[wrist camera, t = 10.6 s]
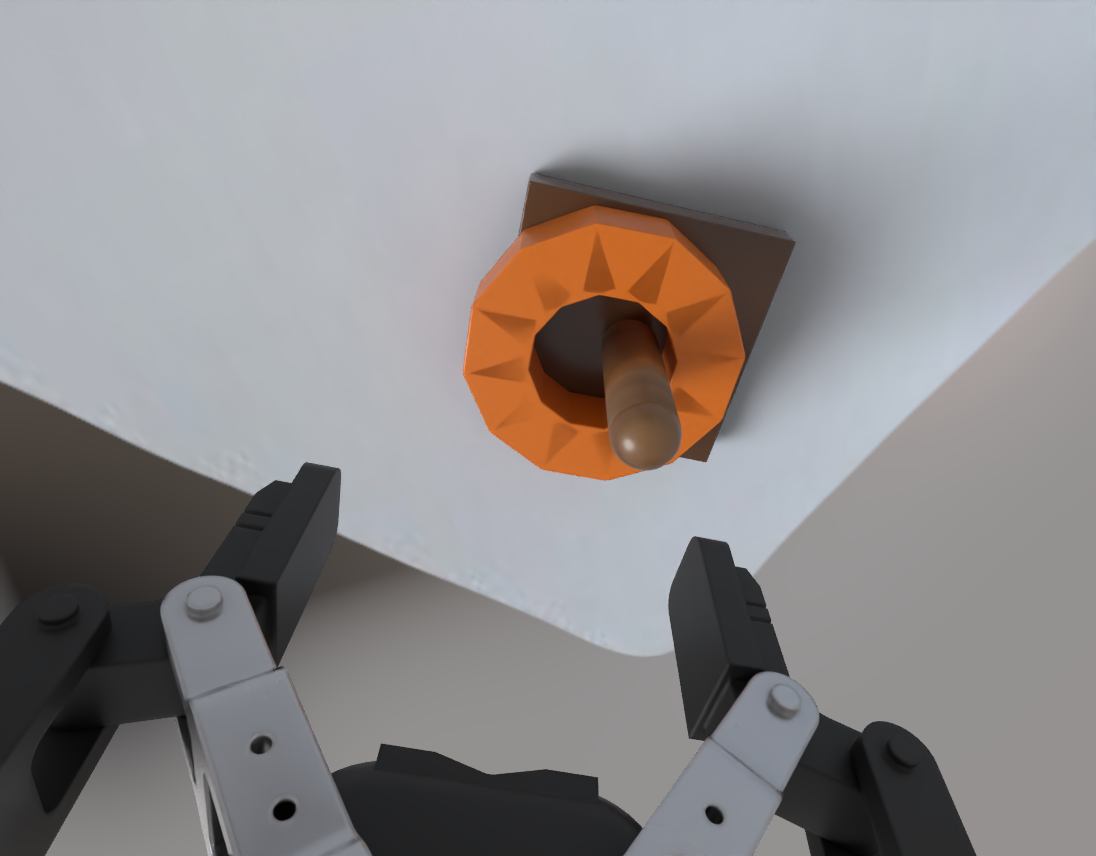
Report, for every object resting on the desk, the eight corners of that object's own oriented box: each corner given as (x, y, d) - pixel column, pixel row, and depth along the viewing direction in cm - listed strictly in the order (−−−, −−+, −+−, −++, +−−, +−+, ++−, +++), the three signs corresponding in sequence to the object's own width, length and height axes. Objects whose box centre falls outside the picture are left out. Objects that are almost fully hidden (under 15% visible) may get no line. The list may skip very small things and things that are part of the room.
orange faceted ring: (493, 184, 24) (485, 200, 22) (763, 238, 25) (783, 259, 22) (460, 421, 29) (451, 454, 27) (685, 461, 30) (694, 496, 27)
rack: (531, 172, 25) (510, 248, 17) (785, 231, 26) (891, 332, 17) (487, 401, 30) (453, 551, 22) (700, 444, 31) (750, 605, 22)
